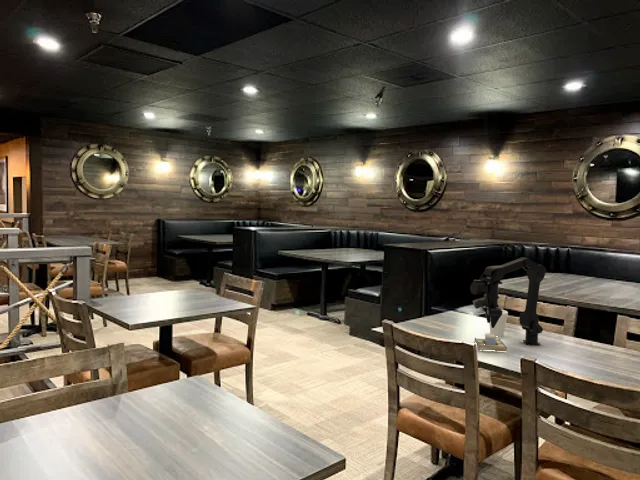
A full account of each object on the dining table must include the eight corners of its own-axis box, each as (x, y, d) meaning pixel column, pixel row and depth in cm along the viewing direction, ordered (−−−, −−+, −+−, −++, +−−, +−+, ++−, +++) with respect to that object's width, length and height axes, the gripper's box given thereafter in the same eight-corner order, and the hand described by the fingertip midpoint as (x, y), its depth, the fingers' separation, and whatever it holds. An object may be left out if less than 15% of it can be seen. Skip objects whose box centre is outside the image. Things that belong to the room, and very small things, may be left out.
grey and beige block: (484, 346, 236) (485, 334, 235) (493, 346, 236) (493, 334, 235) (486, 348, 232) (487, 336, 231) (495, 349, 231) (495, 336, 231)
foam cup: (510, 337, 251) (511, 312, 250) (496, 339, 247) (497, 314, 246) (497, 332, 260) (498, 308, 258) (483, 334, 256) (484, 310, 255)
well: (474, 342, 241) (474, 337, 241) (499, 343, 240) (499, 338, 240) (480, 351, 228) (480, 346, 227) (506, 352, 226) (506, 347, 226)
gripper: (470, 289, 242) (469, 319, 243) (478, 296, 223) (476, 329, 225) (494, 289, 240) (492, 320, 242) (503, 297, 222) (501, 330, 223)
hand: (490, 325), depth 233 cm, fingers open, 9 cm apart
